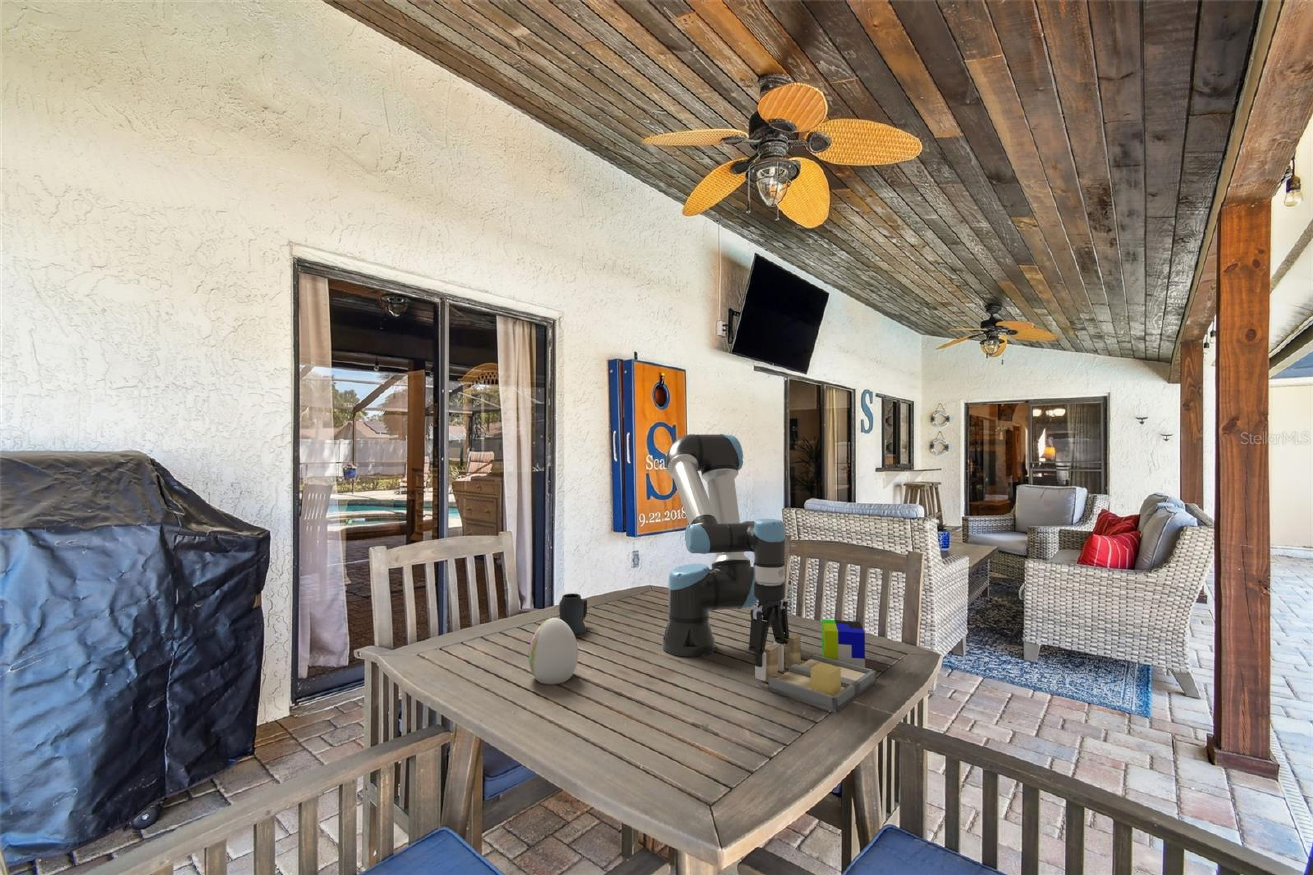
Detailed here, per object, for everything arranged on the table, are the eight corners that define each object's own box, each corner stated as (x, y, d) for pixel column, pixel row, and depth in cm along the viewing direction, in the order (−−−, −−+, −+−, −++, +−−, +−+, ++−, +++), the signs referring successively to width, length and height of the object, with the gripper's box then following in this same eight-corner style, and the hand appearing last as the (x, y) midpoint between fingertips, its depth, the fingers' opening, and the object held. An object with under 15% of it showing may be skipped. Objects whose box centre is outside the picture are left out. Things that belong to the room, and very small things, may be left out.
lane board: (768, 690, 141) (768, 678, 141) (813, 665, 157) (813, 653, 157) (835, 712, 129) (835, 698, 129) (876, 682, 145) (876, 670, 145)
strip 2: (756, 682, 145) (756, 650, 145) (773, 673, 150) (773, 642, 150) (830, 706, 132) (830, 670, 132) (845, 695, 137) (845, 661, 137)
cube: (810, 689, 136) (810, 668, 136) (820, 683, 140) (820, 662, 140) (830, 696, 133) (830, 673, 133) (840, 689, 137) (840, 667, 137)
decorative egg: (548, 665, 157) (548, 609, 157) (587, 673, 151) (587, 615, 151) (518, 682, 146) (518, 621, 146) (559, 691, 140) (559, 628, 140)
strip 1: (781, 669, 153) (781, 638, 153) (796, 661, 159) (796, 631, 159) (817, 680, 146) (817, 648, 146) (832, 671, 152) (831, 640, 152)
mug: (574, 637, 179) (574, 600, 179) (550, 633, 183) (550, 597, 184) (596, 627, 190) (596, 592, 190) (573, 623, 194) (573, 588, 194)
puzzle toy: (864, 671, 153) (864, 633, 153) (824, 668, 155) (824, 630, 155) (859, 658, 163) (859, 621, 163) (822, 655, 165) (822, 619, 165)
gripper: (759, 592, 137) (760, 691, 137) (803, 577, 152) (803, 666, 152) (733, 586, 142) (733, 682, 142) (777, 573, 157) (778, 659, 157)
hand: (769, 674), depth 147 cm, fingers open, 8 cm apart
